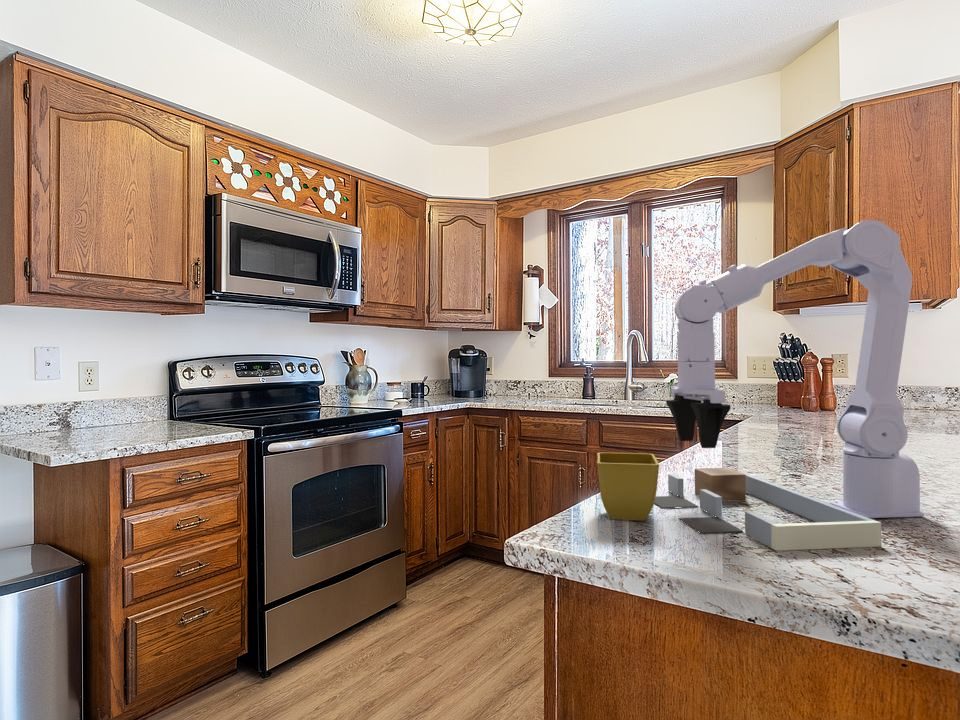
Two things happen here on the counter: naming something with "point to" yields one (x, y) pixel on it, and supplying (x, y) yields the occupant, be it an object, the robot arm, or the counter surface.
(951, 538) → the counter surface
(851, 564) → the counter surface
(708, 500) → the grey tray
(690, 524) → the mat
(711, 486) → the walnut block
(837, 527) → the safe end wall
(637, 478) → the flower pot
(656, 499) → the mat
